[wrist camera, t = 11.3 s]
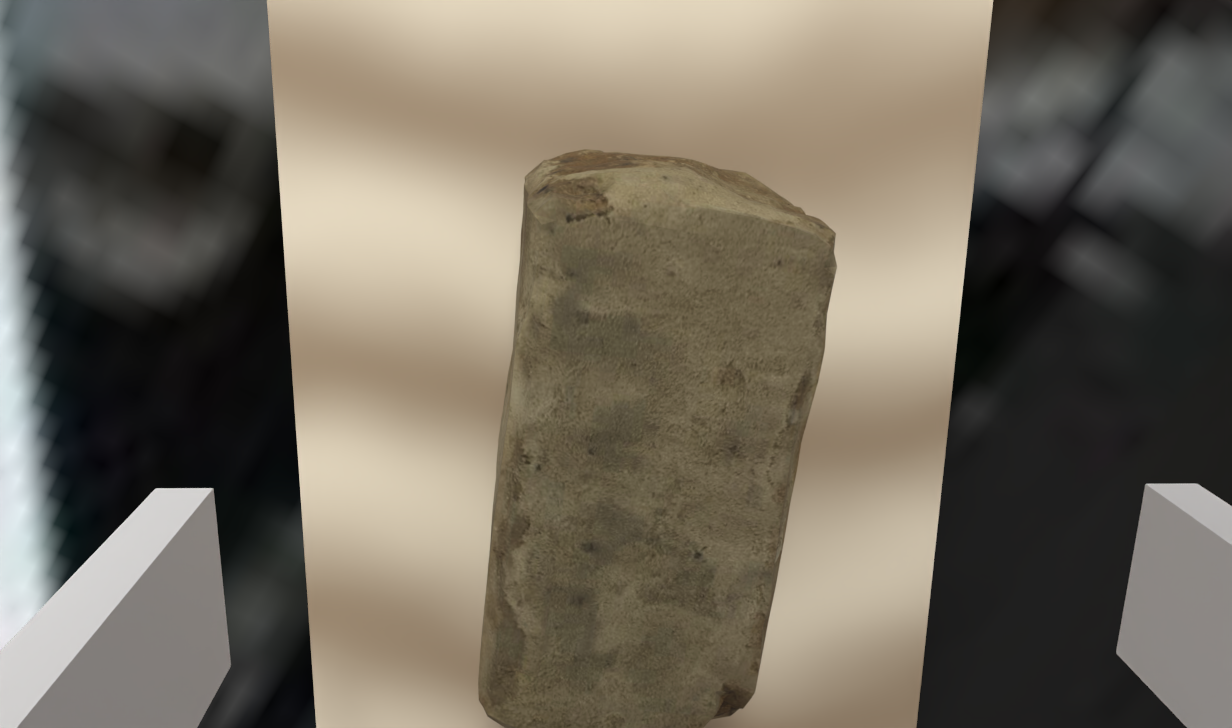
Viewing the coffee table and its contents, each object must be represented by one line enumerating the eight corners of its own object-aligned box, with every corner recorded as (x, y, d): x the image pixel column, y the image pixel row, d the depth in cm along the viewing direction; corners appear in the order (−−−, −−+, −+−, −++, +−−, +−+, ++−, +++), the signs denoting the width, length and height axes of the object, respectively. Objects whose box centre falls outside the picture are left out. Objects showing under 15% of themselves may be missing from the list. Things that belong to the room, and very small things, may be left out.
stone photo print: (275, -65, 21) (261, -72, 20) (979, -46, 22) (998, -52, 21) (329, 767, 26) (320, 792, 25) (897, 753, 27) (911, 777, 26)
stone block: (483, 624, 24) (467, 753, 20) (526, 136, 22) (519, 147, 17) (720, 640, 25) (761, 770, 20) (793, 166, 22) (860, 185, 17)
